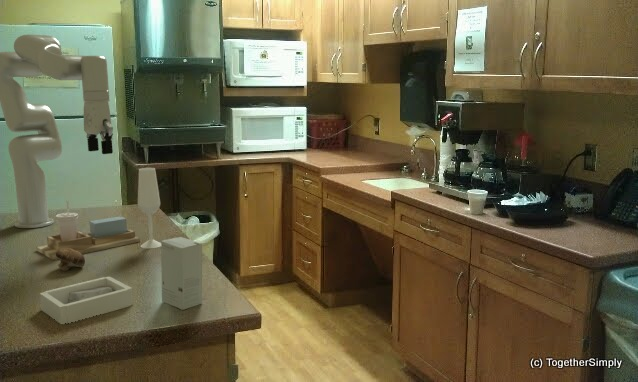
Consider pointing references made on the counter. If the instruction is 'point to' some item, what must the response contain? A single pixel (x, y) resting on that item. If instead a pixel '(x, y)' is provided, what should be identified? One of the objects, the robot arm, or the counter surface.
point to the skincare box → (181, 272)
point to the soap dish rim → (85, 300)
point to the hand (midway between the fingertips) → (100, 152)
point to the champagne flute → (148, 200)
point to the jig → (86, 243)
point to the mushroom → (70, 258)
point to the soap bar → (88, 293)
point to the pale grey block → (108, 227)
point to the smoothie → (67, 224)
